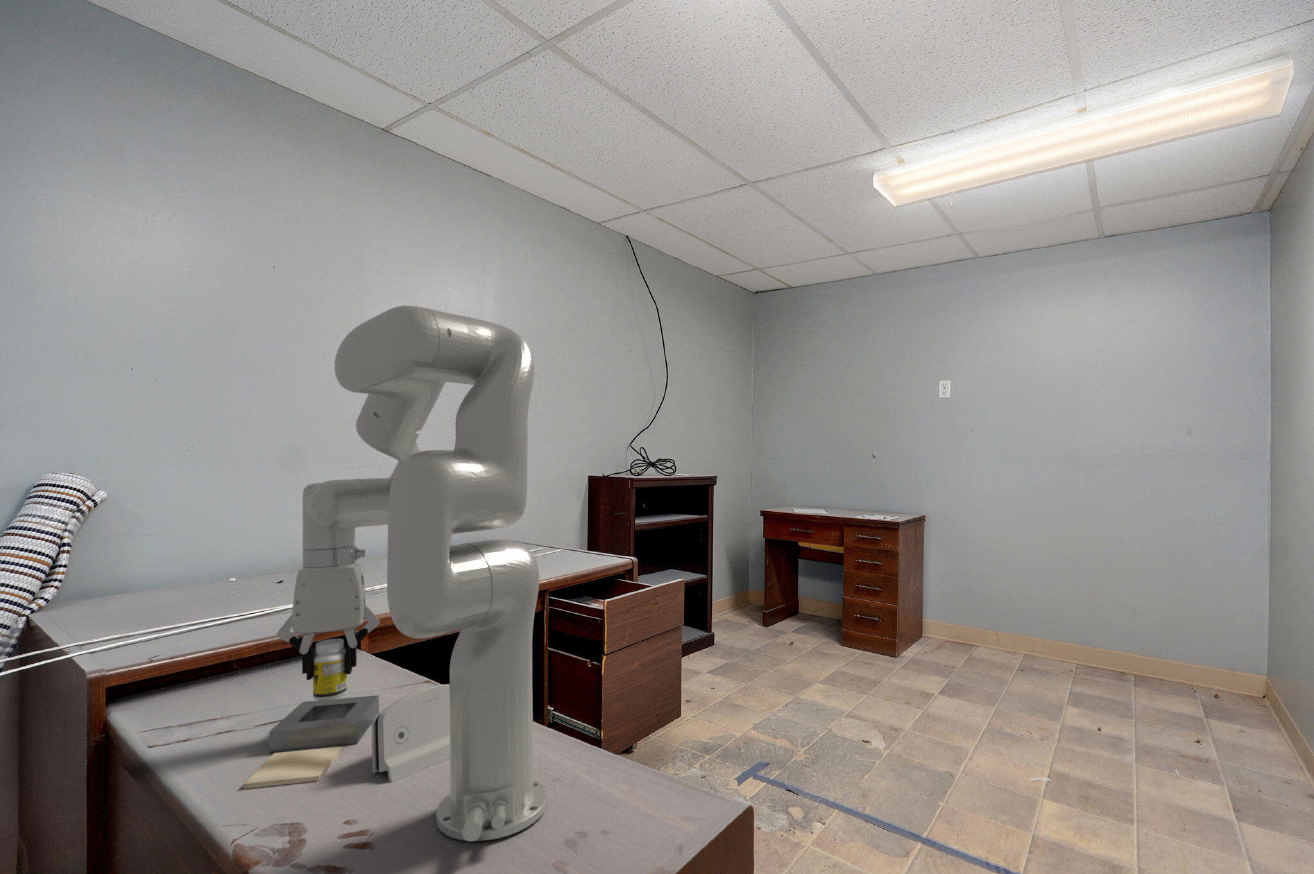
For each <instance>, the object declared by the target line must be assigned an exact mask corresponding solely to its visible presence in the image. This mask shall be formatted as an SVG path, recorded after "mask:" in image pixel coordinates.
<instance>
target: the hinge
mask: <svg viewBox="0 0 1314 874" xmlns="http://www.w3.org/2000/svg"><path fill="white" fill-rule="evenodd" d="M371 751H372V754H371V756H372V758H371V760H372V772H373V774H376V773H383V772H386V771H387V776H388V782H389V783H393V782H395V781H398V780H400V779H403V778H405V777H407V776H411V775H413V774H414V773H417V772H419V771H423V770H425V769H426V768H429V767H431V766H434V765H436V764H438V763H440V762H443V761H446V760H448V759H450V683H449V684H448V683H447V684H439V685H435V686H431V687H426V688H424V689H421V690H418V691H417V690H416V691H415V692H412V693H409V694H407V695H406V696H404V697H401V698H400V699H398V700H397V701H394V702H392V703H391V704H390V705H388V706H387V707H385V708H384V709H382V710H381V711H379V714H377V715H376V716H375V717H374V719H373V720H372V724H371Z"/></svg>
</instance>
